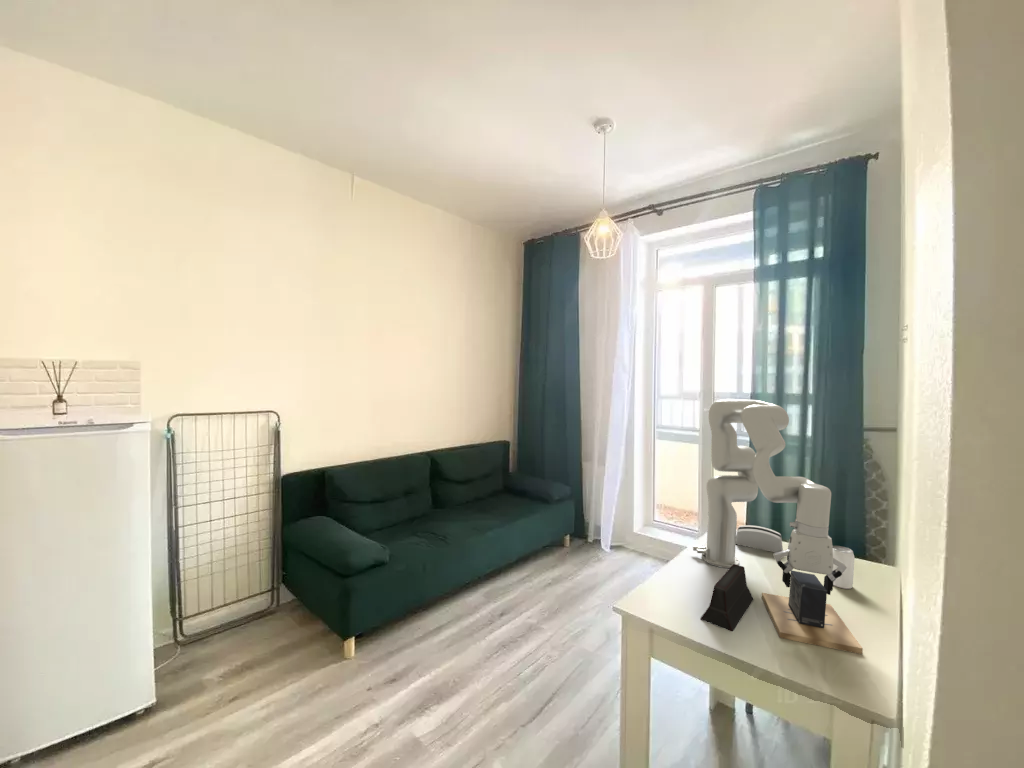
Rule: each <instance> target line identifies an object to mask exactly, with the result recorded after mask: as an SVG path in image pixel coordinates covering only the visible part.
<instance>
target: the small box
mask: <svg viewBox="0 0 1024 768" xmlns="http://www.w3.org/2000/svg"><path fill="white" fill-rule="evenodd" d="M790 574H791V579H790V587H789V595H788V597H789V603H788V605H789V607H790V609H791V610H792V612H793V614H794V616H795V618H796V619H797V621H798V623H801V624H806V625H811V626H816V627H821V628H824V624H825V611H826V604H827V596H828V594H827V590H826V589H825V588H824V584H822V582H821V581H820V580H819V579H818V578H817V576H816V574H815V573H809V572H804V571H798V570H793V569H792V570H791V571H790Z"/></svg>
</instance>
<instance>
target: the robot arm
mask: <svg viewBox="0 0 1024 768" xmlns="http://www.w3.org/2000/svg"><path fill="white" fill-rule="evenodd" d="M789 421H790V418H789V414H788V413H787V411H786V409H784V408H783V407H782V406H780V405H779V404H778V405H777V404H774V403H771V402H765V401H762V400H758V399H742V398H741V399H739V398H736V399H735V398H726V399H725V398H724V399H719V400H716V401H714V402H713V403H712V404H711V405H710V407H709V409H708V422H709V426H710V427H709V428H710V431H711V435H710V436H711V437H710V438H711V439H710V440H711V443H710V444H711V448H710V449H711V451H710V452H711V454H710V457H711V459H710V460H711V464H712V467H713V469H714V470H715V471H718V472H722V473H723V472H724V473H725V472H726V473H737V475H734V474H733V475H732V474H728V475H726V474H723V475H721V474H720V475H718V474H717V475H713V476H712V477H710V478H709V479H707V482H706V493H707V503H708V504H707V505H708V507H707V508H708V512H707V532H706V533H707V534H706V535H707V536H706V543H705V544H704V545H702V546H700V545H693V546H692V550H693V551H695V552H696V553H697V554H701V559H702V560H703V561H704V562H705V563H708V564H709V565H711V566H715V567H719V568H723V569H729V568H730V567H731V566H732V565H733V564H736V565H739V566H740V559H738V558H737V557H736V535H737V524H738V515H737V512H736V510H735V508H734V507H733V504H732V503H744V502H745V503H749V502H753V501H754V500H756V498H757V497H758V494H759V491H760V492H761V494H762V495H763V496H764V498H765V499H767V501H768V502H772V503H776V504H779V503H780V504H782V503H785V504H787V503H789V504H790V503H791V504H792V503H793V504H796V514H795V515H796V517H795V519H794V521H789V527H790V528H794V529H792V530H791V533H790V537H789V541H788V544H787V549H785V550H783V551H780V552H773V554H772V556H773V557H774V560H775V561H776V564H777V565H778V567H779V568H781V570H782V576H781V577H782V579H781V581H782V583H784V585H785V587H786V588H790V580H791V570H792V571H793V570H795V571H800V572H806V573H812V574H820V575H824V577H823V578H824V579H823V586H824V588H825V589H826V590H827V596H831V594H832V593H831V592H833V589H834V588H833V587H834V585H833V581H835V580H836V578H838V577H840V576H841V575H842V573H843V572H844V571H845V570H846V568H847V567H846V566H845V565H844V564H843V563H841V562H840V561H838V560H836V559H835V558H833V546H834V545H833V540H832V537H831V536H830V535H829V529H830V528H829V525H830V515H831V505H832V504H831V501H832V491H831V489H830V488H829V487H827V486H824V485H822V484H819V483H816V482H814V481H812V480H810V479H809V478H807V477H804V476H789V475H788V476H785V475H784V476H783V475H782V476H777V475H775V473H774V472H773V469H772V467H771V465H770V458H771V457H774V456H776V455H779V453H781V452H782V451H783V450H784V449H785V448H786V446H787V445H786V441H785V439H784V438H783V436H782V434H781V432H780V431H783V430H785V429H786V428H787V427H788V426H789ZM734 423H735V424H743V427H744V429H745V431H746V433H747V434H748V437H749V438H750V441H751V443H752V444H753V447H754V448H752V447H750V446H746V445H738V434H737V431H736V429H735V428H734V426H733V425H732V424H734ZM754 449H755V450H754ZM782 558H786V562H783V561H782ZM833 564H835V565H836V566H838V567H837V569H835V570H834V571H833Z"/></svg>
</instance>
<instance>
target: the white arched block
mask: <svg viewBox="0 0 1024 768" xmlns="http://www.w3.org/2000/svg"><path fill="white" fill-rule="evenodd" d="M736 544H738V545H737V546H741V545H743V547H746V546H748V548H751V547H753V549H756V548H757V549H756V550H762V551H767V552H773V553H776V552H780V551H784V550H783V548H784V547H783V538H782V534H781V533H780V532H778V531H776V530H774V529H771V528H767V527H764V526H759V525H739V526H738V528H737V529H736Z"/></svg>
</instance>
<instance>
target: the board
mask: <svg viewBox="0 0 1024 768" xmlns="http://www.w3.org/2000/svg"><path fill="white" fill-rule="evenodd" d="M761 600H762V601H763V603H764V606H765V608H766V611H767V612H768V614H769V617H770V619H771V621H772V623H773V626H774V628H775V631H776V633H777V634H778V637H779V638H780V639H785V640H789V641H794V642H799V643H805V644H809V645H813V646H814V645H815V646H820V647H823V648H830V649H835V650H838V651H843V652H849V653H854V654H858V655H863V653H864V652H863V651H864V649H863V647H862V646H861V644H860V642H859V641H858V640H857V638H856V637H855V636H854V635H853V633H852V632H851V630H850V628H849V627H848V626H847V625H846V623H845V622H844V621H843V619H842V618H841V616H840V615H839V614H838V612H836V610H835V609H834V607H833V605H831V604H830V603H826V611H825V624H824V628H821V627H816V626H811V625H806V624H801V623H798V621H797V619H796V618H795V616H794V614H793V612H792V610H791V609H790V607H789V605H788V603H789V596H783V595H779V594H772V593H766V592H761Z"/></svg>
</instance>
